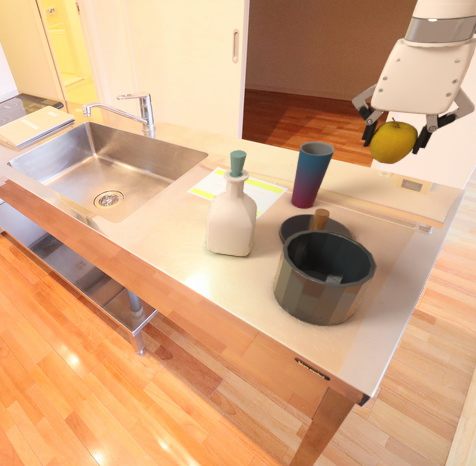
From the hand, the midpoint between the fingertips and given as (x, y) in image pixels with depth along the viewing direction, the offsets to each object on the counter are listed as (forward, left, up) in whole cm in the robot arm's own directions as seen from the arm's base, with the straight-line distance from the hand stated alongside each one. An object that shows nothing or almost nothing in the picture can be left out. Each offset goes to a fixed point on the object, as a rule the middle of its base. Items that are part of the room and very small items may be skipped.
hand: (390, 146), depth 56 cm
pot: (+2, +21, -21) cm, 30 cm away
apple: (0, 0, -3) cm, 3 cm away
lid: (+6, +4, -21) cm, 22 cm away
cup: (+12, -8, -21) cm, 26 cm away
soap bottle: (+21, +15, -21) cm, 34 cm away
